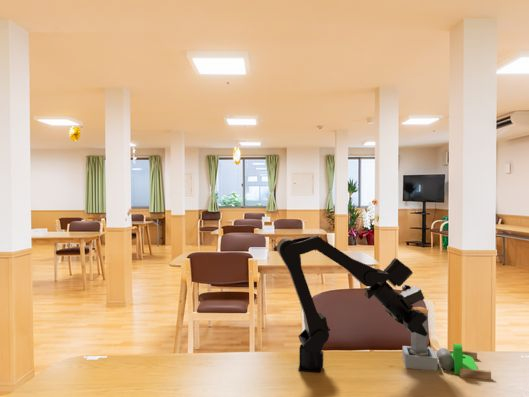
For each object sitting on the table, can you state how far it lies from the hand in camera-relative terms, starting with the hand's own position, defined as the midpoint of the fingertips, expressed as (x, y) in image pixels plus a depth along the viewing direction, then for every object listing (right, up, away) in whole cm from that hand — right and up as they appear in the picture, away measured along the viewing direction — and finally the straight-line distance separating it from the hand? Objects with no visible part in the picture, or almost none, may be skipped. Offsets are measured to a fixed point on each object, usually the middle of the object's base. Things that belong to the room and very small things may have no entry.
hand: (423, 333), depth 136 cm
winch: (+1, -9, 0) cm, 9 cm away
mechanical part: (+11, -10, -3) cm, 15 cm away
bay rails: (+12, -9, -3) cm, 16 cm away
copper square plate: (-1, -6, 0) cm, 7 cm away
